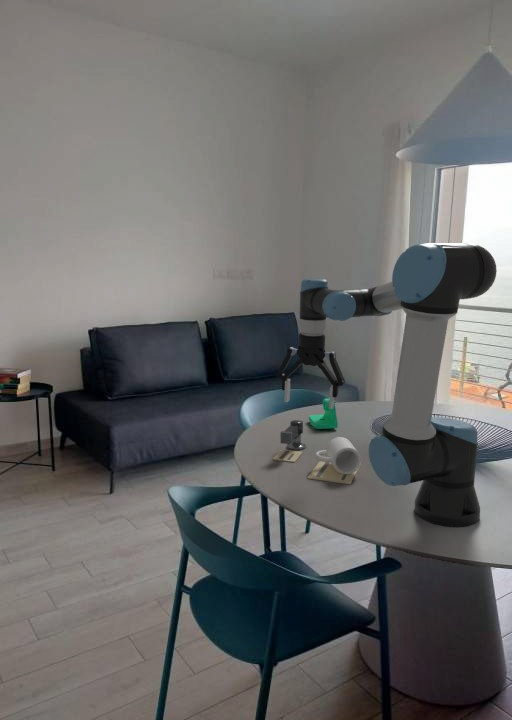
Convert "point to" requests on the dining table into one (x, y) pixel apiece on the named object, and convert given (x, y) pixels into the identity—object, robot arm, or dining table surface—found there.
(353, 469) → the mug
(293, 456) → the label card
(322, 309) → the robot arm
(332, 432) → the dining table surface
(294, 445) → the grey mushroom knob
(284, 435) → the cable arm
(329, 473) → the label card
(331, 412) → the camera mount
